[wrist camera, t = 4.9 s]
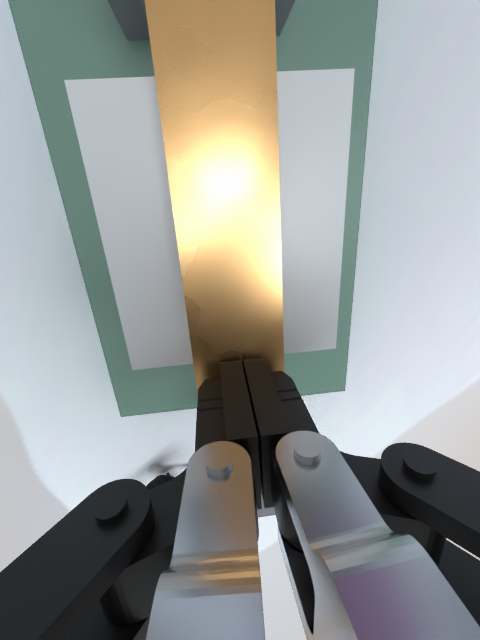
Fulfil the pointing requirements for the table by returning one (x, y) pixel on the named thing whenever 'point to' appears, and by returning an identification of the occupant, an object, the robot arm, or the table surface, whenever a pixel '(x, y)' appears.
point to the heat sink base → (131, 56)
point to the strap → (223, 173)
